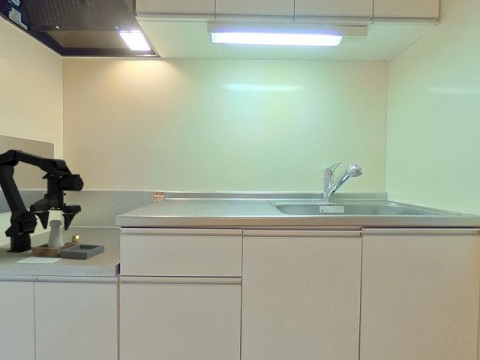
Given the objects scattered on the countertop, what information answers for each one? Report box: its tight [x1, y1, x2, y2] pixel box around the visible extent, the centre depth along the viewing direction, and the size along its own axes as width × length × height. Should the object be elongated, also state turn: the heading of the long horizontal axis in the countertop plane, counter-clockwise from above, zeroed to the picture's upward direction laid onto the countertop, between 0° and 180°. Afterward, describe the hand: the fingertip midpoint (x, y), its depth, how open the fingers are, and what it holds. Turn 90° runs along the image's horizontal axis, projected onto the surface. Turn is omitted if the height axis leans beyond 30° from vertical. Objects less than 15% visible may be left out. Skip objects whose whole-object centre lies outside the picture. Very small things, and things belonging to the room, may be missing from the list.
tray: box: [59, 243, 105, 260], centre depth 119 cm, size 11×11×2 cm
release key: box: [64, 234, 80, 246], centre depth 129 cm, size 3×9×4 cm, turn 171°
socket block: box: [31, 241, 78, 258], centre depth 121 cm, size 11×11×3 cm
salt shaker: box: [47, 219, 65, 248], centre depth 121 cm, size 6×6×13 cm
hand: (55, 229), depth 121 cm, fingers open, 9 cm apart
